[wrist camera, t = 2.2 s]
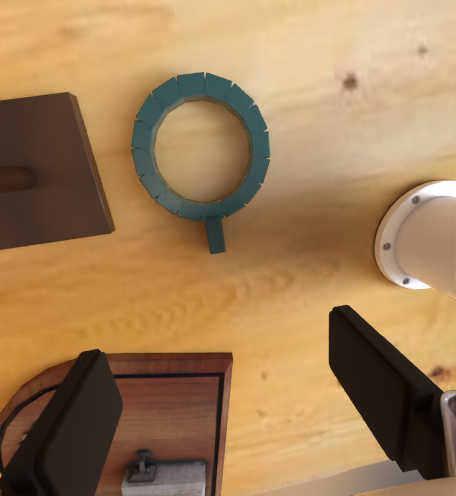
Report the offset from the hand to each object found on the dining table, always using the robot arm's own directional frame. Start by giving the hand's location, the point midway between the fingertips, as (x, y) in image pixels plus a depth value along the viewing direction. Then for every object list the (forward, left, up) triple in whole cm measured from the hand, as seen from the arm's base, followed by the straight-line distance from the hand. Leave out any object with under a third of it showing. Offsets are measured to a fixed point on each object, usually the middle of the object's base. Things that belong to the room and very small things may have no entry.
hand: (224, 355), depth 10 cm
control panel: (+18, +27, -17) cm, 37 cm away
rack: (+16, -9, -17) cm, 24 cm away
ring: (0, -7, -17) cm, 18 cm away
